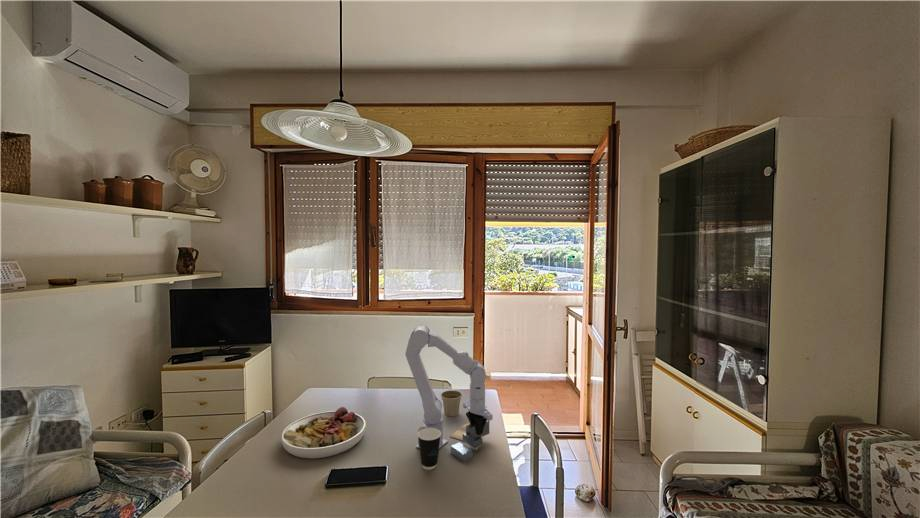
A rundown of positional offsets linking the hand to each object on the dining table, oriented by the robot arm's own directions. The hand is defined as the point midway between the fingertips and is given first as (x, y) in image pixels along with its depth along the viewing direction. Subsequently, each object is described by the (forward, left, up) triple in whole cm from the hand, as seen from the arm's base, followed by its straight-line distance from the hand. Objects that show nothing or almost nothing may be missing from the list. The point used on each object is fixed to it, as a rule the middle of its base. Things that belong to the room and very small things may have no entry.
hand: (477, 432), depth 142 cm
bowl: (-28, +51, -5) cm, 58 cm away
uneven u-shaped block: (-1, -2, -2) cm, 3 cm away
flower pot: (+16, +22, -4) cm, 27 cm away
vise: (-8, 0, -4) cm, 8 cm away
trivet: (+5, +7, -4) cm, 9 cm away
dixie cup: (-21, +7, -4) cm, 22 cm away
